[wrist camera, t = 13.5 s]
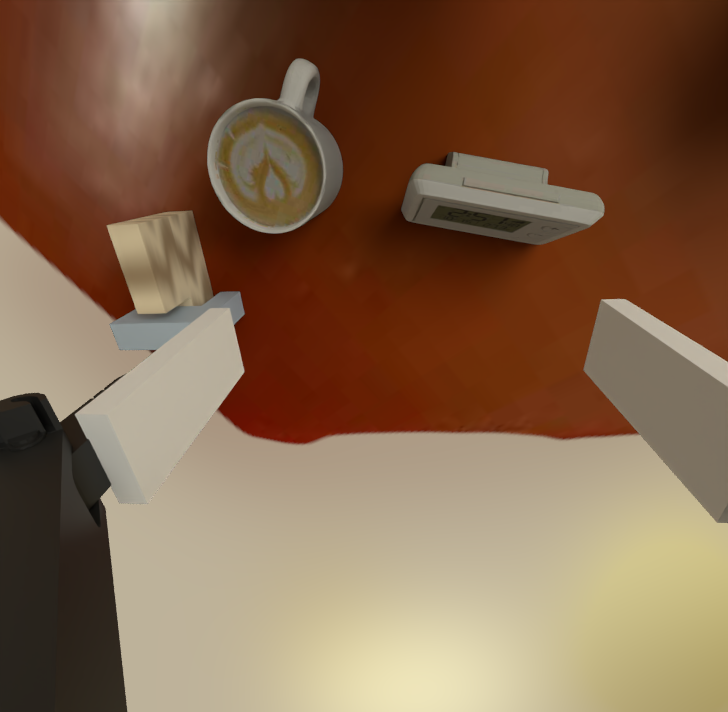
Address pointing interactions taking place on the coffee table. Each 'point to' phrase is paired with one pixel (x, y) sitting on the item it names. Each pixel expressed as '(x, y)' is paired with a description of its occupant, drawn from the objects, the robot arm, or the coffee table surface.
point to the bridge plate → (168, 322)
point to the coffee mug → (276, 157)
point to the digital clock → (497, 200)
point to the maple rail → (162, 261)
